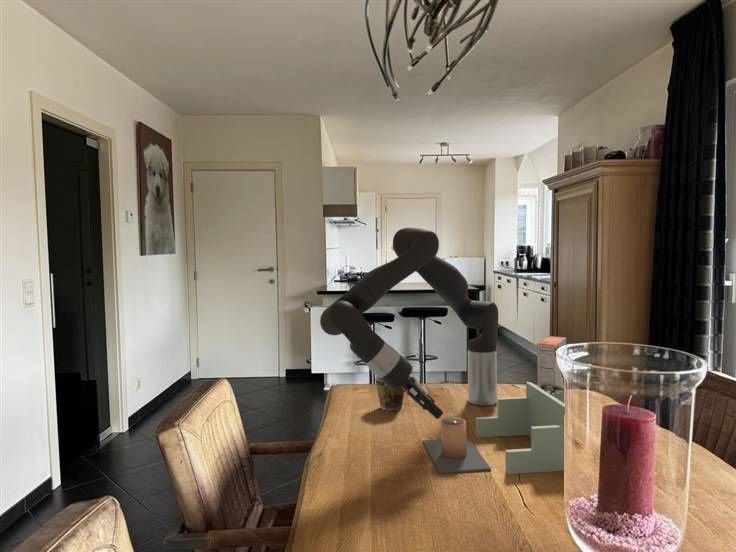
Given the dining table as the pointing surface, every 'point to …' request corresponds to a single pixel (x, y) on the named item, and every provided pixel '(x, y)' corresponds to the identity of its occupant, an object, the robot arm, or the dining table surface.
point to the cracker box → (549, 361)
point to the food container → (554, 391)
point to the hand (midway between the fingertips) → (436, 409)
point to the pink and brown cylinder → (453, 437)
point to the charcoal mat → (449, 465)
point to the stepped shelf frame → (529, 430)
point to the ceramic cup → (389, 396)
